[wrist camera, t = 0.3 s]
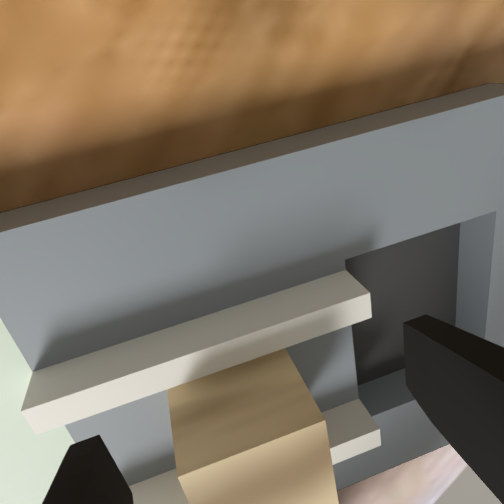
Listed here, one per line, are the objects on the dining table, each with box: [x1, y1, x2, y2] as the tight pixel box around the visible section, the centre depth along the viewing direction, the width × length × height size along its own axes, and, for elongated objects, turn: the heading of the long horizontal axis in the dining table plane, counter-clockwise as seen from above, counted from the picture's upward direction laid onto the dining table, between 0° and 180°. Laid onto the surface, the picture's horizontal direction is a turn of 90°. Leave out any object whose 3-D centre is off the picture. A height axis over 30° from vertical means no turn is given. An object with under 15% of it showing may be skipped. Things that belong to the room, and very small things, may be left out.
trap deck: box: [0, 83, 504, 504], centre depth 19 cm, size 20×31×4 cm, turn 101°
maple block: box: [167, 348, 339, 504], centre depth 16 cm, size 5×5×5 cm
